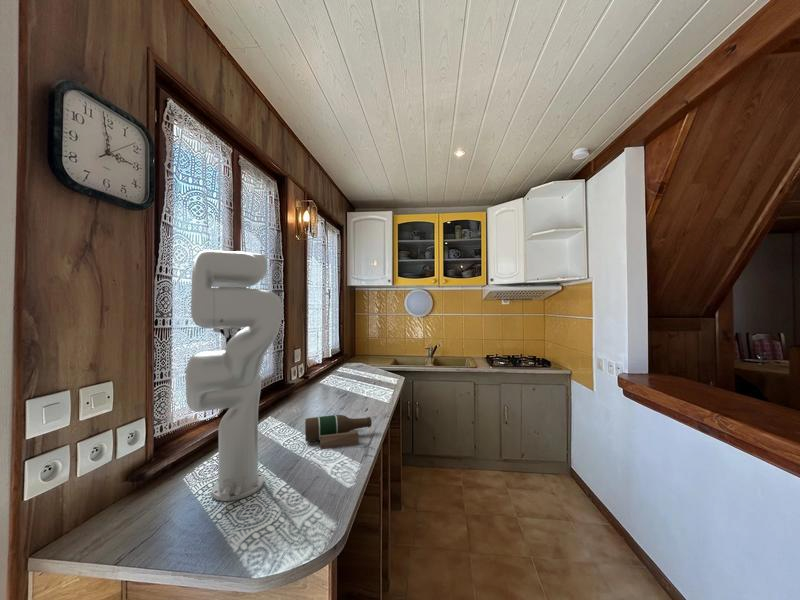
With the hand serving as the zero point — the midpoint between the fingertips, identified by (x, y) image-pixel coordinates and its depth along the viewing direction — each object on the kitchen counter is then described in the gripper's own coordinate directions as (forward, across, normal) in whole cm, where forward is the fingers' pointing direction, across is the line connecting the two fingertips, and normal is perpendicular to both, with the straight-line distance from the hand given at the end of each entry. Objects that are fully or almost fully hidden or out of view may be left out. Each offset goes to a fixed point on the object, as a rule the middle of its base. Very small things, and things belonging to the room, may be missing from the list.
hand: (231, 349), depth 105 cm
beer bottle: (+30, +23, +5) cm, 38 cm away
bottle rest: (+35, +34, +5) cm, 49 cm away
